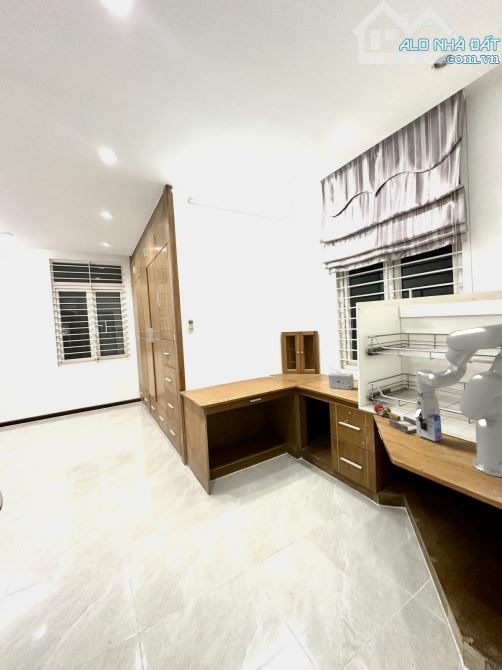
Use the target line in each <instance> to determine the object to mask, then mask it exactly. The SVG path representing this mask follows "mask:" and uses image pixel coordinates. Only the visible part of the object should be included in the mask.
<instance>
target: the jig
mask: <svg viewBox="0 0 502 670" xmlns="http://www.w3.org/2000/svg"><path fill="white" fill-rule="evenodd" d="M402 417H403V419H402V420H399V421H397V420H396V421H395V420H393V419H389V420H388V421H389V426H390V427H391V428H394V429H396V430H397V431H400V432H402V433H404V434H406V435H409V434H412V433H417V428H416V419H415V420H414V419H412V418H410V417H407V416H405V415H404V416H402Z"/></svg>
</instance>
